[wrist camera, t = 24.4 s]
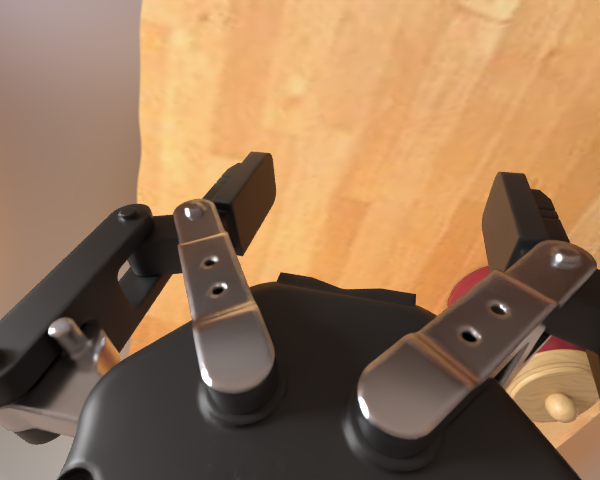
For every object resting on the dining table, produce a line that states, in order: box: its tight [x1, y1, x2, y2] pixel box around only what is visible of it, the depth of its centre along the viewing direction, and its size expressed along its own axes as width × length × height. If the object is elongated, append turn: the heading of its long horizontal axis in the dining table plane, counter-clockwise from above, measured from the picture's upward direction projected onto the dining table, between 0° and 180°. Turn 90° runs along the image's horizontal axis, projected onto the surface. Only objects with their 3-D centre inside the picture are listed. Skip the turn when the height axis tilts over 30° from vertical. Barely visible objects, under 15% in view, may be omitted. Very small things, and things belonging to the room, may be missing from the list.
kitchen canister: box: [448, 266, 599, 423], centre depth 42 cm, size 13×13×18 cm
